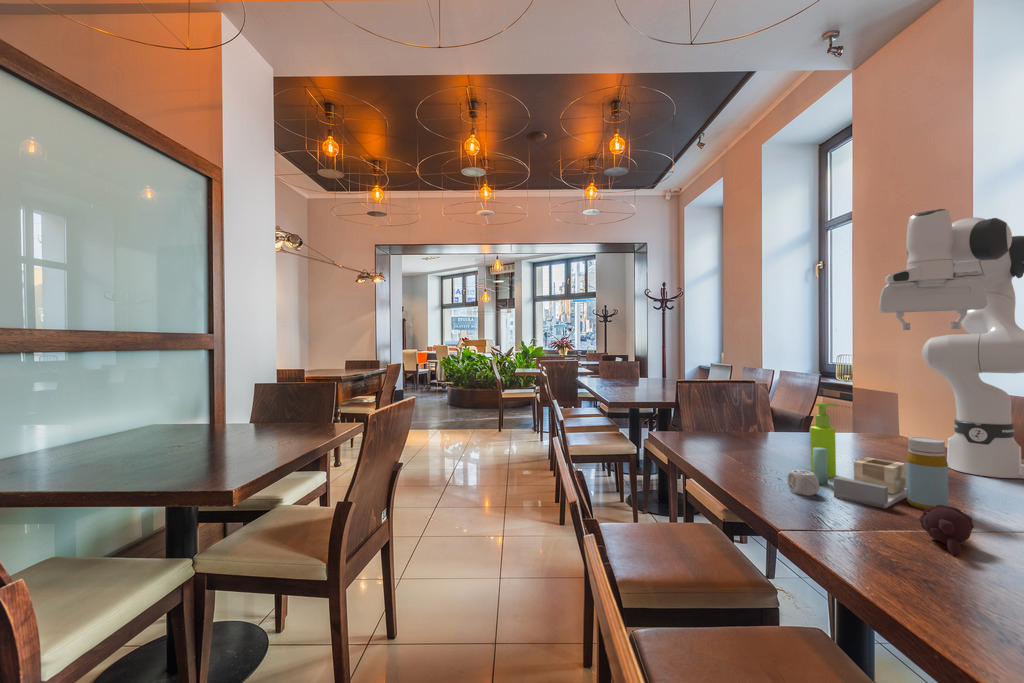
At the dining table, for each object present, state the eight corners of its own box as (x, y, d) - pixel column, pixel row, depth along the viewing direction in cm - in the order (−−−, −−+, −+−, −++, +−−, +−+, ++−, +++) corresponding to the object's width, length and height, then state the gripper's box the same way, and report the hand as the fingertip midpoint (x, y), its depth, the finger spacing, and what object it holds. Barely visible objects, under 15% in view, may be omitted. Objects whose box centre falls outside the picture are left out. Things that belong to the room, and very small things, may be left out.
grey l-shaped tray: (864, 483, 123) (863, 466, 123) (912, 493, 115) (912, 475, 115) (833, 497, 113) (833, 478, 113) (884, 508, 105) (884, 488, 105)
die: (819, 495, 114) (819, 475, 114) (798, 495, 114) (798, 475, 114) (807, 489, 119) (807, 469, 119) (787, 489, 119) (786, 469, 119)
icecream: (912, 493, 95) (915, 521, 84) (961, 490, 91) (971, 520, 79) (924, 527, 95) (929, 560, 83) (974, 526, 90) (986, 562, 79)
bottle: (956, 513, 101) (955, 443, 102) (919, 511, 103) (918, 442, 103) (934, 502, 108) (933, 437, 108) (899, 500, 110) (898, 436, 110)
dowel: (816, 480, 126) (816, 446, 127) (830, 483, 124) (829, 449, 124) (811, 482, 125) (810, 448, 125) (824, 485, 122) (824, 450, 122)
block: (867, 480, 122) (866, 457, 122) (906, 488, 115) (905, 463, 115) (854, 485, 117) (853, 461, 117) (893, 494, 110) (893, 468, 111)
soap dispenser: (844, 477, 129) (843, 404, 130) (819, 477, 129) (818, 404, 130) (830, 471, 135) (829, 401, 135) (806, 471, 135) (805, 401, 136)
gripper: (983, 272, 115) (984, 328, 115) (877, 279, 126) (878, 330, 126) (991, 268, 110) (992, 328, 110) (880, 276, 121) (880, 330, 121)
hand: (930, 329), depth 118 cm, fingers open, 8 cm apart
